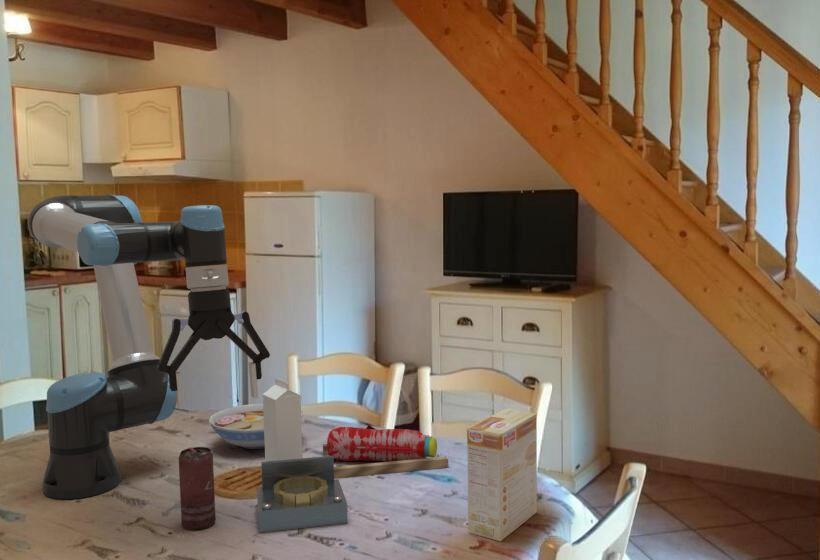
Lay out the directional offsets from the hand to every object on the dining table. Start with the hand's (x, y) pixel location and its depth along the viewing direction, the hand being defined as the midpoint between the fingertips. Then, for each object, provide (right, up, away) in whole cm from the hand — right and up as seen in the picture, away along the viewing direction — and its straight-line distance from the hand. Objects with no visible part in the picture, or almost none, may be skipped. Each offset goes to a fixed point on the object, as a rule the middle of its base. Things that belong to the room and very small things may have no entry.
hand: (218, 402), depth 140 cm
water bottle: (+30, -19, +34) cm, 49 cm away
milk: (+9, -20, +21) cm, 31 cm away
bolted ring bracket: (+15, -22, +3) cm, 27 cm away
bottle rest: (+30, -19, +33) cm, 48 cm away
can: (-4, -23, 0) cm, 23 cm away
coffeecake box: (+53, -22, -1) cm, 57 cm away
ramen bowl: (-2, -18, +45) cm, 49 cm away
